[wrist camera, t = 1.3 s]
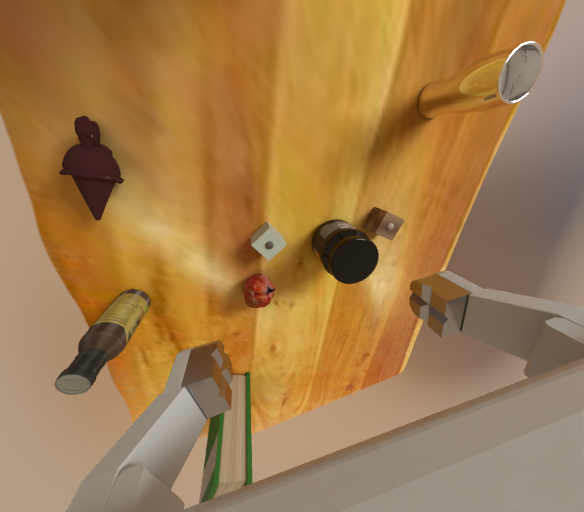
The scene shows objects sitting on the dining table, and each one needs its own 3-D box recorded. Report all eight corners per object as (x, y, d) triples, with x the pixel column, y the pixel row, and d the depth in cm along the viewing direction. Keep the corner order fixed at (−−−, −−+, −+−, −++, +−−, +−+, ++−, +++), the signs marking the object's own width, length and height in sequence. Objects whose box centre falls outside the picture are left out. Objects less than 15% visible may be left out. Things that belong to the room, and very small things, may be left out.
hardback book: (224, 370, 61) (213, 486, 39) (249, 372, 63) (252, 482, 42) (211, 409, 67) (195, 528, 45) (235, 409, 69) (230, 522, 48)
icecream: (121, 227, 34) (116, 122, 30) (56, 222, 31) (39, 103, 26) (129, 218, 40) (125, 129, 35) (75, 213, 36) (63, 114, 32)
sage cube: (267, 220, 45) (269, 228, 40) (282, 236, 47) (287, 245, 43) (250, 236, 46) (251, 245, 41) (266, 251, 48) (269, 261, 43)
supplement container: (323, 267, 53) (343, 296, 42) (302, 235, 48) (318, 257, 37) (359, 244, 52) (389, 266, 41) (341, 208, 47) (369, 224, 36)
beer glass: (450, 74, 40) (553, 34, 27) (445, 117, 43) (534, 100, 30) (417, 81, 39) (505, 43, 26) (414, 124, 43) (491, 110, 29)
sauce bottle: (137, 315, 48) (76, 408, 30) (112, 298, 45) (27, 390, 28) (159, 300, 48) (108, 385, 30) (134, 282, 45) (63, 364, 27)
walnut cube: (374, 206, 49) (387, 211, 44) (390, 214, 50) (405, 220, 46) (363, 226, 50) (375, 233, 45) (379, 233, 52) (392, 240, 47)
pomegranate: (255, 294, 55) (288, 297, 50) (236, 312, 49) (271, 317, 44) (245, 269, 52) (279, 269, 47) (225, 285, 46) (261, 287, 41)
